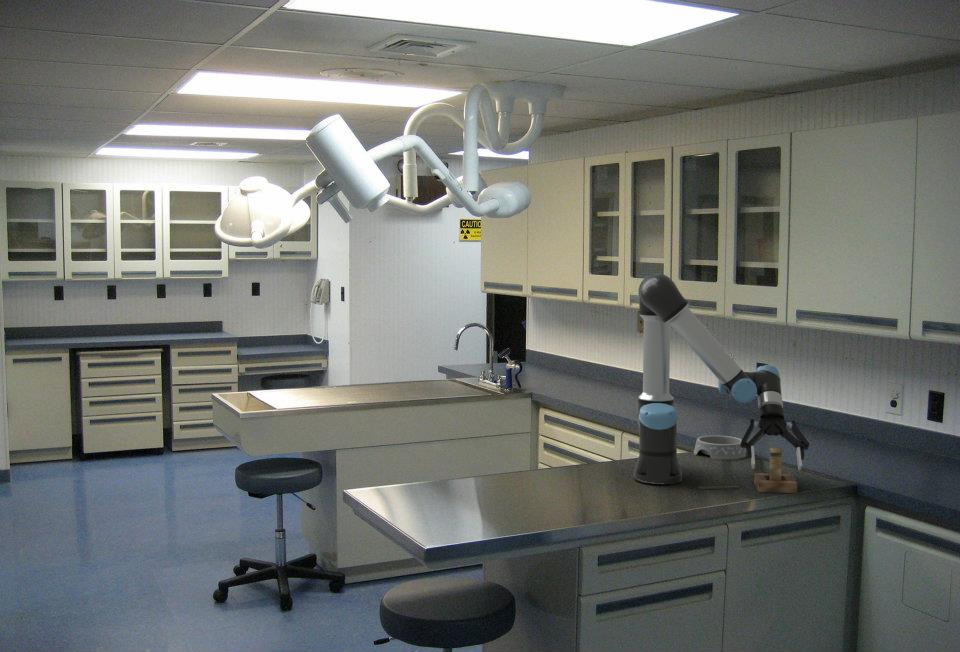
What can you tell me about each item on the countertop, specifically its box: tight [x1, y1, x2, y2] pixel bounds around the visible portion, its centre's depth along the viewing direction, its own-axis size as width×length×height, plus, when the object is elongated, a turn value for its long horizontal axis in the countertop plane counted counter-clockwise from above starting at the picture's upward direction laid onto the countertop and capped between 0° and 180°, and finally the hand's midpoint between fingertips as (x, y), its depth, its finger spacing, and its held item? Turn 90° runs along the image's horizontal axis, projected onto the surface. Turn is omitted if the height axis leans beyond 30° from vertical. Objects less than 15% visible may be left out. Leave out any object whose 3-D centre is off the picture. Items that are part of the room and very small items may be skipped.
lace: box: [698, 485, 739, 490], centre depth 278 cm, size 12×1×1 cm, turn 90°
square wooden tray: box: [753, 472, 798, 494], centre depth 278 cm, size 11×11×3 cm
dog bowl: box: [693, 435, 747, 461], centre depth 324 cm, size 17×18×5 cm
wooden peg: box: [769, 447, 783, 481], centre depth 278 cm, size 3×3×12 cm
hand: (776, 467), depth 276 cm, fingers open, 13 cm apart
